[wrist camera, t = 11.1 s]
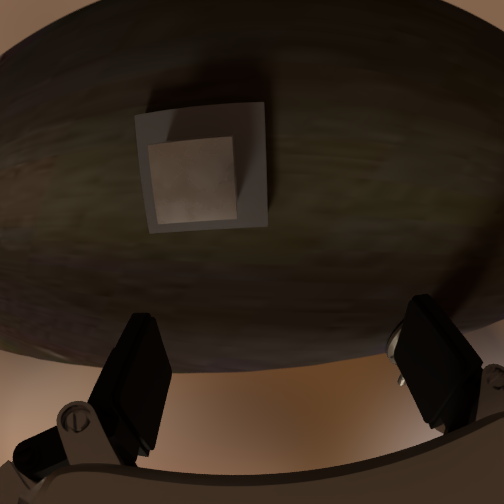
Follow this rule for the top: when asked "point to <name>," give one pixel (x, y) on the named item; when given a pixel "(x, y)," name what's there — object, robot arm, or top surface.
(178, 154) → the grey cube
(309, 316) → the top surface
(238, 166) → the grey block
